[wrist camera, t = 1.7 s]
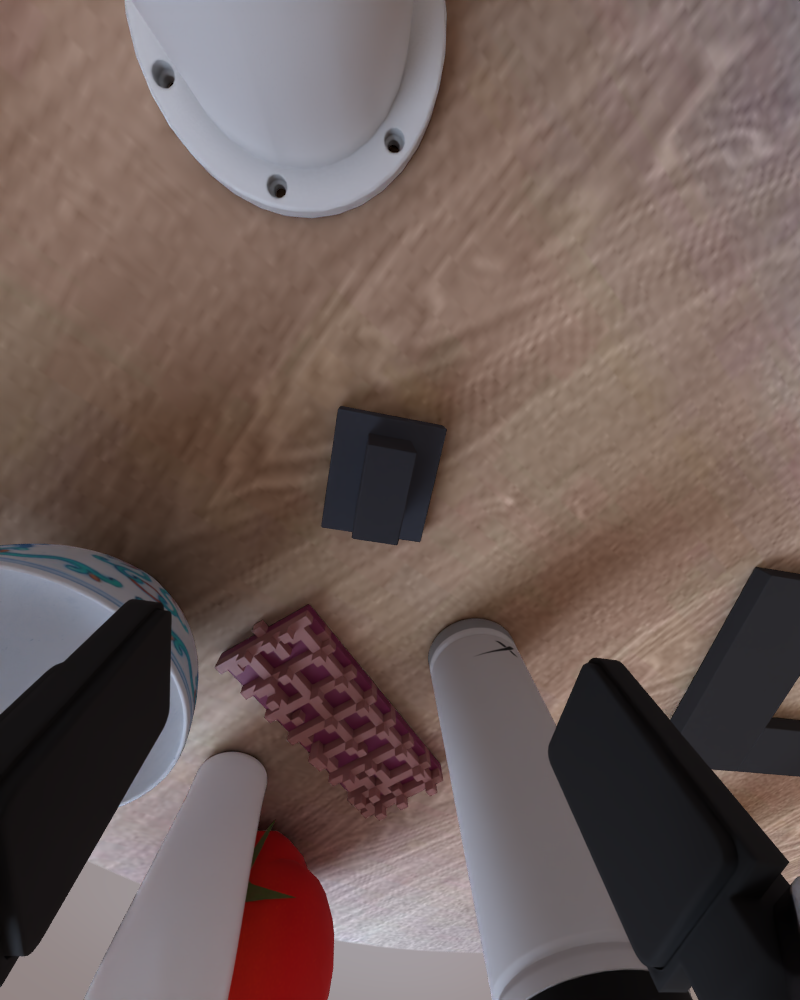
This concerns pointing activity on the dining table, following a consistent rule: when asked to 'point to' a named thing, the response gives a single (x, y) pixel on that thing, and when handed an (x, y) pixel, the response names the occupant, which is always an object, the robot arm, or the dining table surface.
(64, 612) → the chinaware
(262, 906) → the tomato
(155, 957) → the drinking glass
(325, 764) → the chocolate bar
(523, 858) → the travel mug
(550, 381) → the dining table surface
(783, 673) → the black u-shaped block
